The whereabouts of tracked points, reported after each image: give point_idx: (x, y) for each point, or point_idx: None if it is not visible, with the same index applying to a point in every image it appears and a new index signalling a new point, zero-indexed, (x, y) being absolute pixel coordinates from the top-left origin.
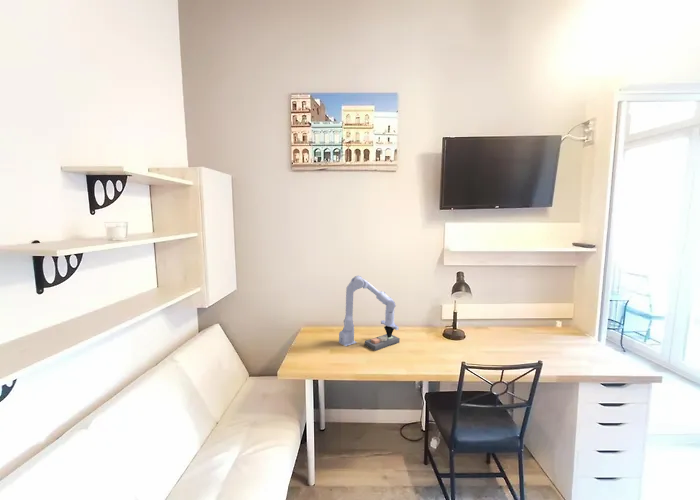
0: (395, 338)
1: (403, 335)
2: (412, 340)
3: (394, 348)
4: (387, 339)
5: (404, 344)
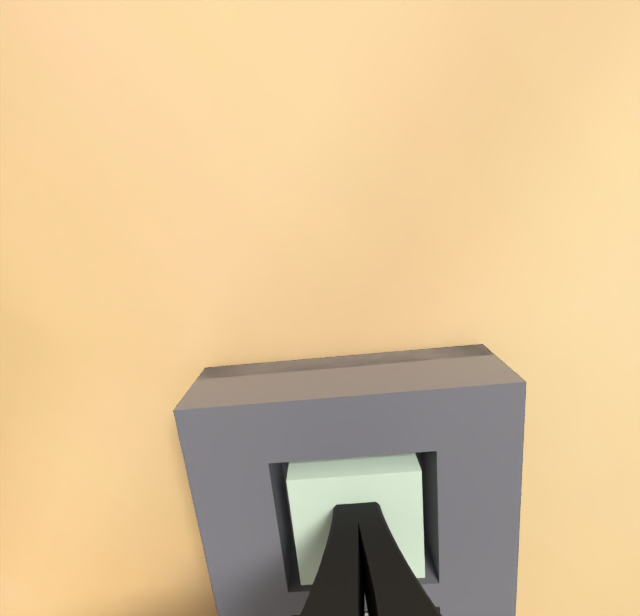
0: (481, 462)
1: (244, 3)
2: (567, 17)
3: (576, 527)
4: None
5: (585, 308)
